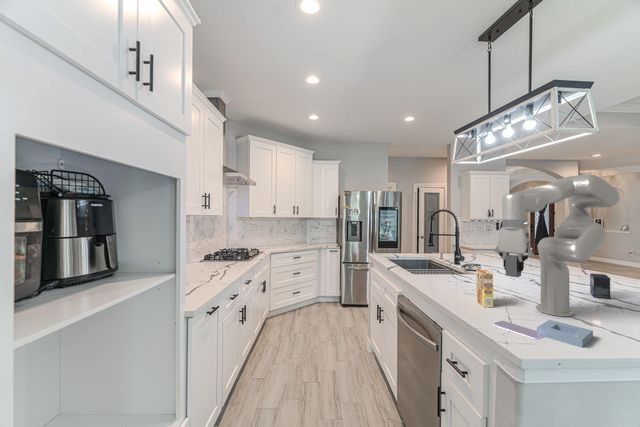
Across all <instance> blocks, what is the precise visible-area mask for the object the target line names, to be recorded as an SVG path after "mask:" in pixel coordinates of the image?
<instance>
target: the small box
mask: <svg viewBox="0 0 640 427" xmlns="http://www.w3.org/2000/svg"><path fill="white" fill-rule="evenodd" d="M589 286H590V289H589V291H590V294H591V296H592V297H593V298H595V299H604V300H611V278H610V277H609V275H607V274H603V273H591V272H590V274H589Z"/></svg>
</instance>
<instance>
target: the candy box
mask: <svg viewBox="0 0 640 427" xmlns="http://www.w3.org/2000/svg"><path fill="white" fill-rule="evenodd" d="M476 301H477V303H478V304H479V305H481V306H482V307H484V308H494V274H493V272H492V271H491V272H490V271H489V270H488V269H482V268H481V269H476Z"/></svg>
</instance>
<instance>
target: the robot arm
mask: <svg viewBox="0 0 640 427" xmlns="http://www.w3.org/2000/svg"><path fill="white" fill-rule="evenodd" d="M566 199H567V202H568V209H569V210H568V211H569V214H568V215H567V217H566V218H565V219H564V220H563V221H562V222H561V223H560V225H558V226H557V228H556V230H555V231H554V236H548V237H543V238H541V239H540V240H539V242H538V244H537V251H538V255H539V261H540V262H539V263H540V304H537V305H536V306H535V309H536V310H537V311H539V312H541V313H543V314H547V315H552V316H557V317H565V318H566V317H568V318H569V317H574V315H575V311H574V310H572V309H570V269H569V267H568V266H567V264H566V263H565V262H568V263H573V264H584V263H587V262H588V261H589V260H590V259H591V258H592V257H593V256H594V255H595V253H596V252H597V251H598V249H599V248H600V247H601V246H602V244H603V243H604V241H605V239H606V230H605V228H604V226H603V225H602V224H600V223H598V222H594V218H593V216H592V214H591V213H590V212H589V211H588V209H587V208H589V209H590V208H591V209H593V208H596V209H597V208H601V209H602V208H611V207H615V206H616V205H617V204H618V203H619V201H620V194H619V191H618V190H617V189H616V188H615V187H614V186H613V185H611V184H610V183H609V182H607V181H606V180H605V179H603V177H600V176H598V175H595V174H592V173H591V174H589V173H588V174H581V175H571V176H566V177H563V178H560V179H557V180H555V181H551V182H549V183H546V184H541V185H538V186H535V187H531V188H527V189H523V190H520V191H516V192H514V193H507V194H504V195H503V196H502V201H501V202H502V203H501V204H502V210H501V211H502V214H501V215H502V218H501V219H502V221H501V222H502V223H501V224H502V227H500V229H499V234H498V242H497V246H496V247H495V249H494V252H495V253H496V254H497V255H498V256H500V258H501V259H502V260H503V261H502V262H503V263H502V264H503V268H504V270H505V271H506V255H510V254H515V255H517V256H518V259H519V261H518V262H517V271H518V272H521V273H522V272H523V270H524V268H525V265H524V264H525V261H526V260H527V259H529V258H531V257H534V256H535V253H534V251H533V250H532V248H531V241H530V234H529V229H528V228H527V226H529V225H530V222H528V221H526V213H537V212H540V211H542V210H543V209H544V208H545V207H546V205H550V204H557V203H560V202H562V201H564V200H566Z"/></svg>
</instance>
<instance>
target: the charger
mask: <svg viewBox="0 0 640 427" xmlns="http://www.w3.org/2000/svg"><path fill="white" fill-rule="evenodd" d="M518 261H519V259H518V254H509V255H506V270H505V276H506V277H513V278H519V277H521V276H522V271H521V272H518V271H517V262H518Z"/></svg>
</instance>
